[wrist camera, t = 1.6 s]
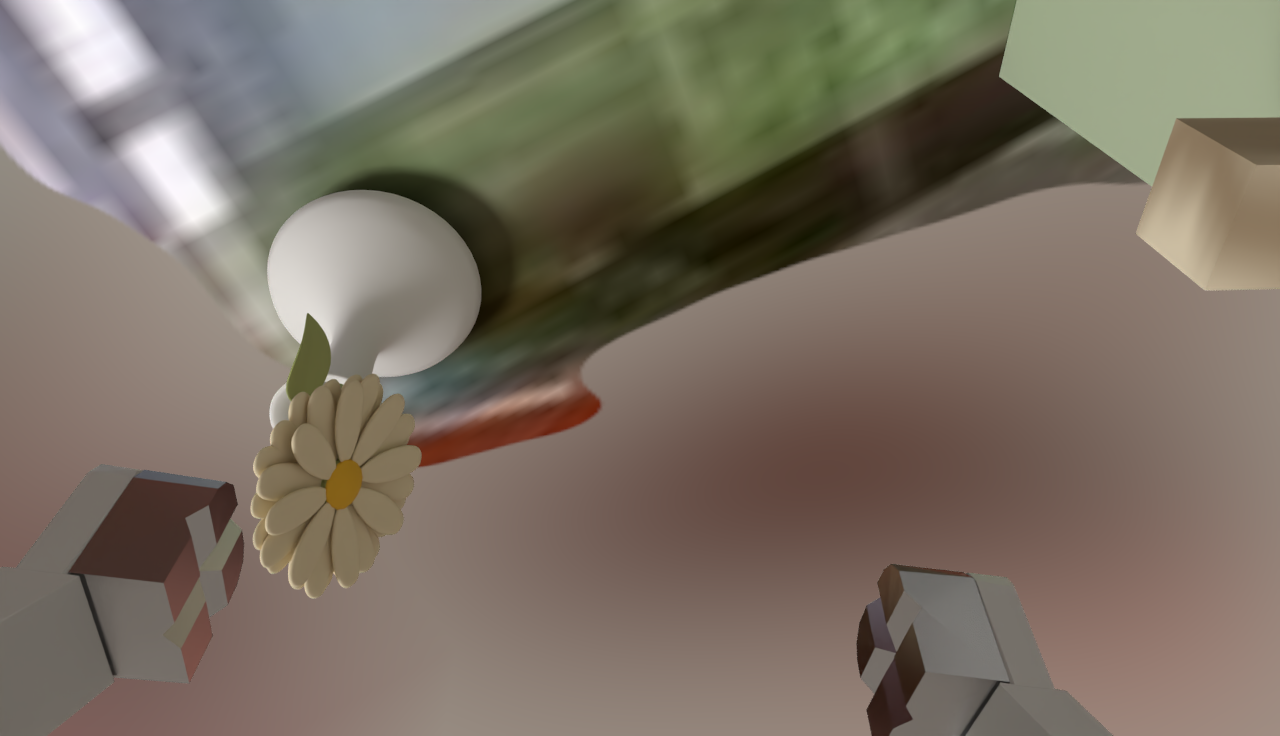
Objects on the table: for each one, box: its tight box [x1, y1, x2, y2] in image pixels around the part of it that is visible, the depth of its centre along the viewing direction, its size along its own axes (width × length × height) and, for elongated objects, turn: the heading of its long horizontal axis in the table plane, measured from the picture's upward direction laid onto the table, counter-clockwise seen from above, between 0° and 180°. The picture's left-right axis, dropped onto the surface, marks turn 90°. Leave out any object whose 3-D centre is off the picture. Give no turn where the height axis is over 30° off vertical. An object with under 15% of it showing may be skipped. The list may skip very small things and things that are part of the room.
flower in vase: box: [251, 190, 481, 598], centre depth 40 cm, size 13×11×25 cm
